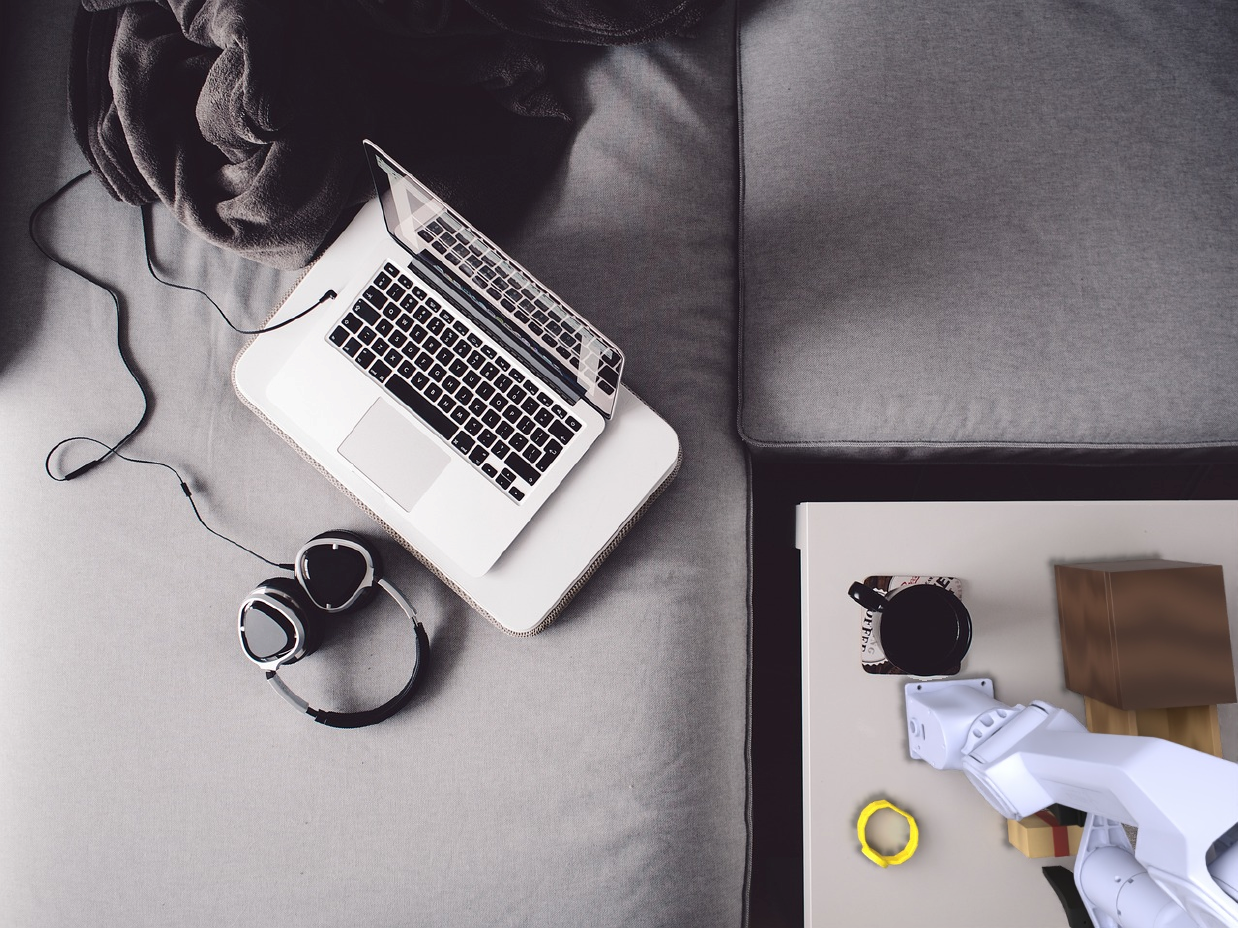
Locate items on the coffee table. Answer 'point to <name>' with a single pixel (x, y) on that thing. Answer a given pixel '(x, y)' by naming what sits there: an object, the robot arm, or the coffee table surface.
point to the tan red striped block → (1044, 836)
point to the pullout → (1159, 724)
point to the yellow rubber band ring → (874, 855)
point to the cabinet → (1146, 633)
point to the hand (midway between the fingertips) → (1047, 831)
